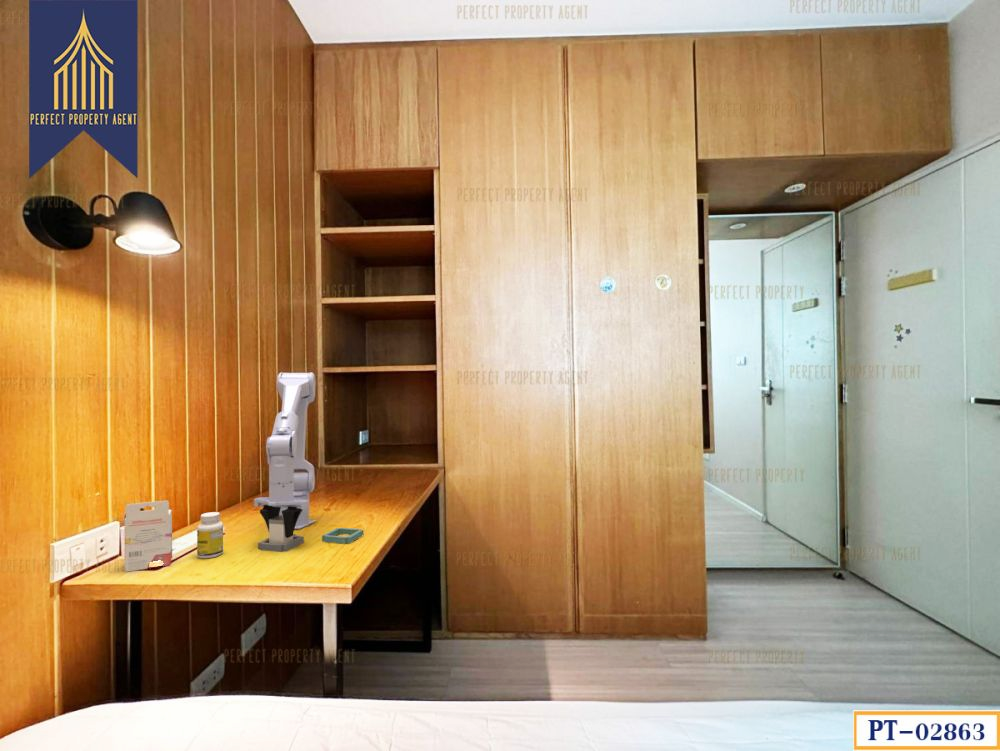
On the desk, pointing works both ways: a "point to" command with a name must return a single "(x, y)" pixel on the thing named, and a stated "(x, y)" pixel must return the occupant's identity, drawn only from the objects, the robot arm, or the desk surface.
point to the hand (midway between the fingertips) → (281, 536)
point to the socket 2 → (341, 539)
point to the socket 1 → (280, 547)
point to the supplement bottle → (210, 536)
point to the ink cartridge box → (147, 535)
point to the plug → (278, 531)
